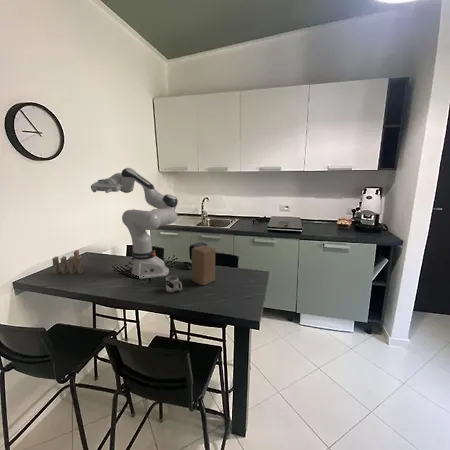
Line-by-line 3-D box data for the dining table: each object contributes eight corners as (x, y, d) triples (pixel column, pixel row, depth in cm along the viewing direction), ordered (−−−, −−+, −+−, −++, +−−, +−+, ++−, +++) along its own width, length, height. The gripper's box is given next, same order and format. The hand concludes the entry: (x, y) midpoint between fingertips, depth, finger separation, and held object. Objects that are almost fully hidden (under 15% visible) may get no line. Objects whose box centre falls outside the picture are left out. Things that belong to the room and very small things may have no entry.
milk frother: (209, 264, 189) (209, 243, 186) (200, 272, 175) (200, 249, 172) (190, 261, 194) (190, 241, 190) (180, 269, 179) (179, 247, 176)
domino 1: (60, 272, 171) (58, 256, 169) (57, 274, 167) (55, 258, 165) (57, 272, 171) (55, 256, 169) (54, 274, 167) (52, 258, 165)
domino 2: (67, 271, 172) (66, 256, 170) (65, 274, 168) (63, 258, 166) (65, 271, 172) (63, 256, 169) (62, 274, 168) (60, 258, 166)
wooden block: (215, 281, 162) (216, 248, 158) (202, 286, 155) (202, 252, 150) (203, 276, 168) (204, 244, 164) (191, 281, 161) (190, 248, 157)
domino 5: (83, 271, 173) (81, 255, 171) (80, 273, 169) (79, 258, 167) (80, 271, 173) (79, 255, 171) (78, 273, 169) (76, 258, 167)
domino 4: (80, 264, 184) (78, 250, 182) (77, 266, 180) (76, 252, 178) (77, 264, 184) (76, 250, 181) (75, 266, 180) (73, 252, 178)
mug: (163, 290, 150) (163, 278, 148) (171, 285, 155) (171, 274, 154) (177, 295, 144) (177, 283, 143) (185, 290, 150) (185, 278, 149)
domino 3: (75, 271, 172) (73, 256, 170) (73, 274, 169) (71, 258, 166) (72, 271, 172) (71, 256, 170) (70, 274, 168) (68, 258, 166)
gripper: (124, 189, 201) (115, 196, 189) (98, 187, 204) (87, 195, 192) (123, 180, 197) (113, 187, 186) (96, 179, 201) (85, 186, 189)
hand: (99, 191), depth 189 cm, fingers open, 8 cm apart
